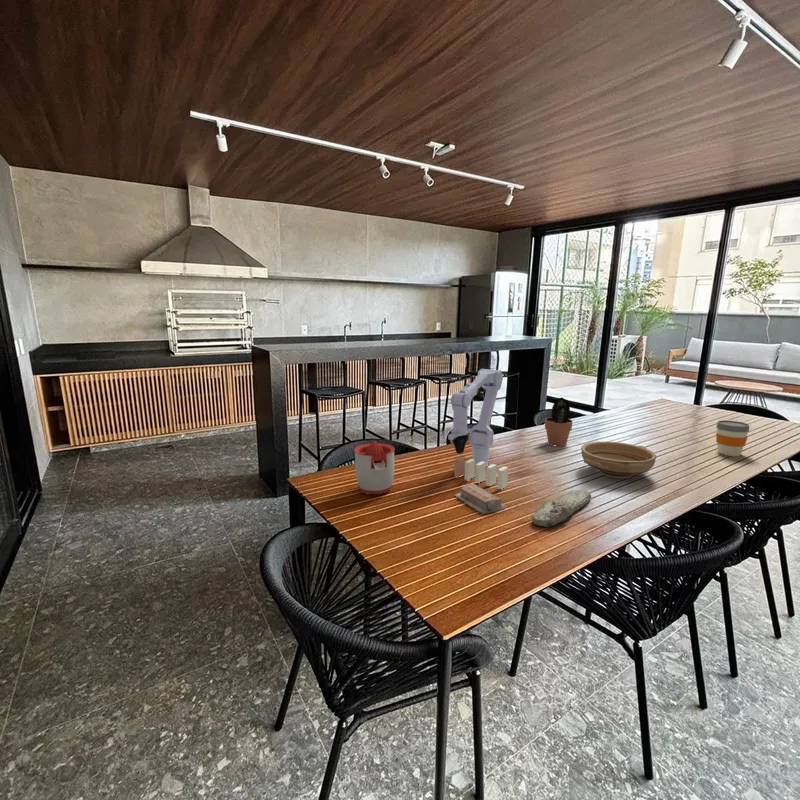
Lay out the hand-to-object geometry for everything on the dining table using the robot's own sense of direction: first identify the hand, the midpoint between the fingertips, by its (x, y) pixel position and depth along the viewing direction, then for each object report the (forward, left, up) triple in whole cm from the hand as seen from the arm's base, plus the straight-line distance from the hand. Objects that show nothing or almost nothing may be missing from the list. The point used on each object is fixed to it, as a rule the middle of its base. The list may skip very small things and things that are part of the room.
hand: (459, 452), depth 180 cm
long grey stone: (+28, +37, -11) cm, 47 cm away
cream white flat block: (+2, +4, -10) cm, 12 cm away
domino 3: (+5, +9, -10) cm, 14 cm away
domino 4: (+8, +13, -10) cm, 18 cm away
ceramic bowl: (-14, +66, -11) cm, 68 cm away
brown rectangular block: (0, 0, -10) cm, 10 cm away
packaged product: (+25, +8, -11) cm, 29 cm away
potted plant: (-55, +49, -11) cm, 74 cm away
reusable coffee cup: (-51, +128, -11) cm, 138 cm away
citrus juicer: (+21, -31, -11) cm, 39 cm away
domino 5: (+10, +17, -10) cm, 23 cm away
